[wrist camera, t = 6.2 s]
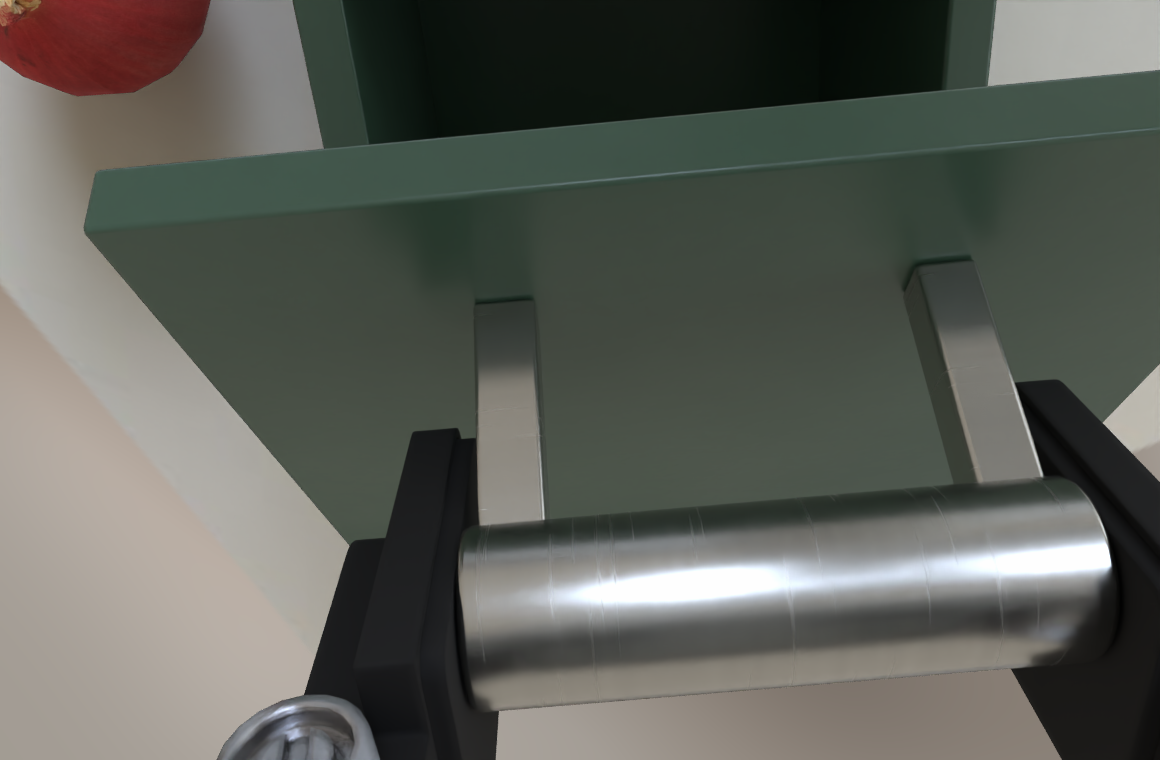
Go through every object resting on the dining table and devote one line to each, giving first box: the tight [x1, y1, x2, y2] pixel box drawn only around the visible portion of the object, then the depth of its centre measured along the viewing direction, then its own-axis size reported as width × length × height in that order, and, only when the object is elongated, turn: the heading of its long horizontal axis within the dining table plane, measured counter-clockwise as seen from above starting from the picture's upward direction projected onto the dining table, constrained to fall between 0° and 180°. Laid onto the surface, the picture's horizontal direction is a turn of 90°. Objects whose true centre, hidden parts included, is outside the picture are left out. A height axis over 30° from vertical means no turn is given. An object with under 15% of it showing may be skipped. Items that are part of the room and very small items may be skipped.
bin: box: [293, 0, 997, 149], centre depth 25 cm, size 15×13×10 cm
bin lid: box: [84, 70, 1160, 712], centre depth 15 cm, size 16×13×5 cm
